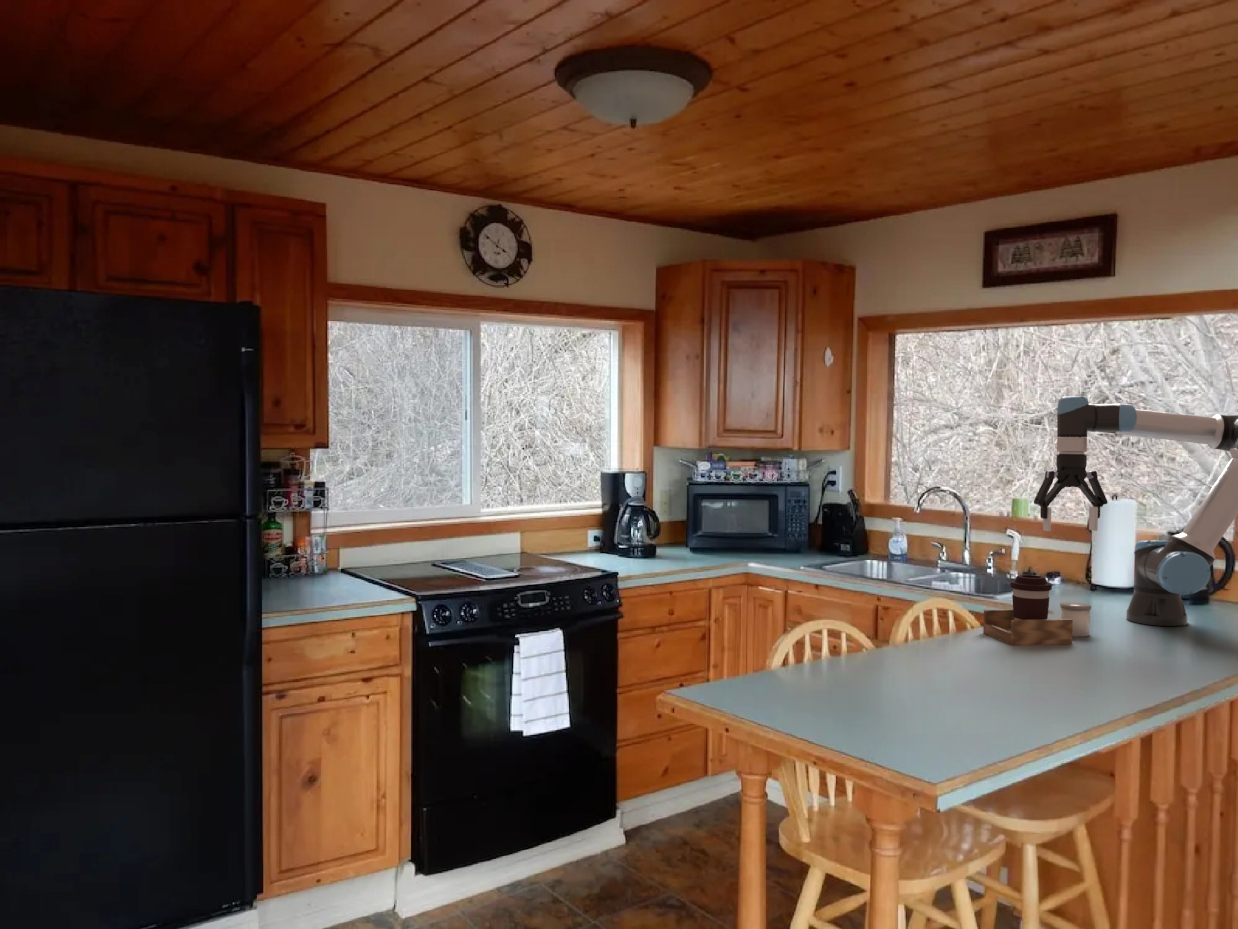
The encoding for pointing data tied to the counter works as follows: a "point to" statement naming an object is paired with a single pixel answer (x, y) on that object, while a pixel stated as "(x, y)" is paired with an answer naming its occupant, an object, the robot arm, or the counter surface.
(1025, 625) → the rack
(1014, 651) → the counter surface
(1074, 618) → the sugar jar
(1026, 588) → the coffee cup
